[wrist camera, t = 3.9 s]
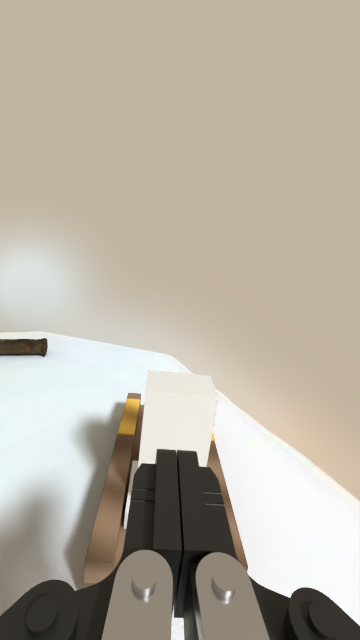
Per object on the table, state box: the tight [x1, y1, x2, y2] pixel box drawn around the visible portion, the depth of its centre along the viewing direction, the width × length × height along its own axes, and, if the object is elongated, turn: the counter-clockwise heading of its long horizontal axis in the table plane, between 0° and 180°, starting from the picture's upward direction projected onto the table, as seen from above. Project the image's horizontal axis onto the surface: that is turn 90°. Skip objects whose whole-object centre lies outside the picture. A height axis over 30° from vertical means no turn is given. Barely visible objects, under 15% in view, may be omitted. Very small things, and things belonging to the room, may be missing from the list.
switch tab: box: [124, 370, 218, 529], centre depth 25 cm, size 6×7×13 cm
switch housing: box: [83, 393, 248, 588], centre depth 32 cm, size 24×12×4 cm, turn 3°
